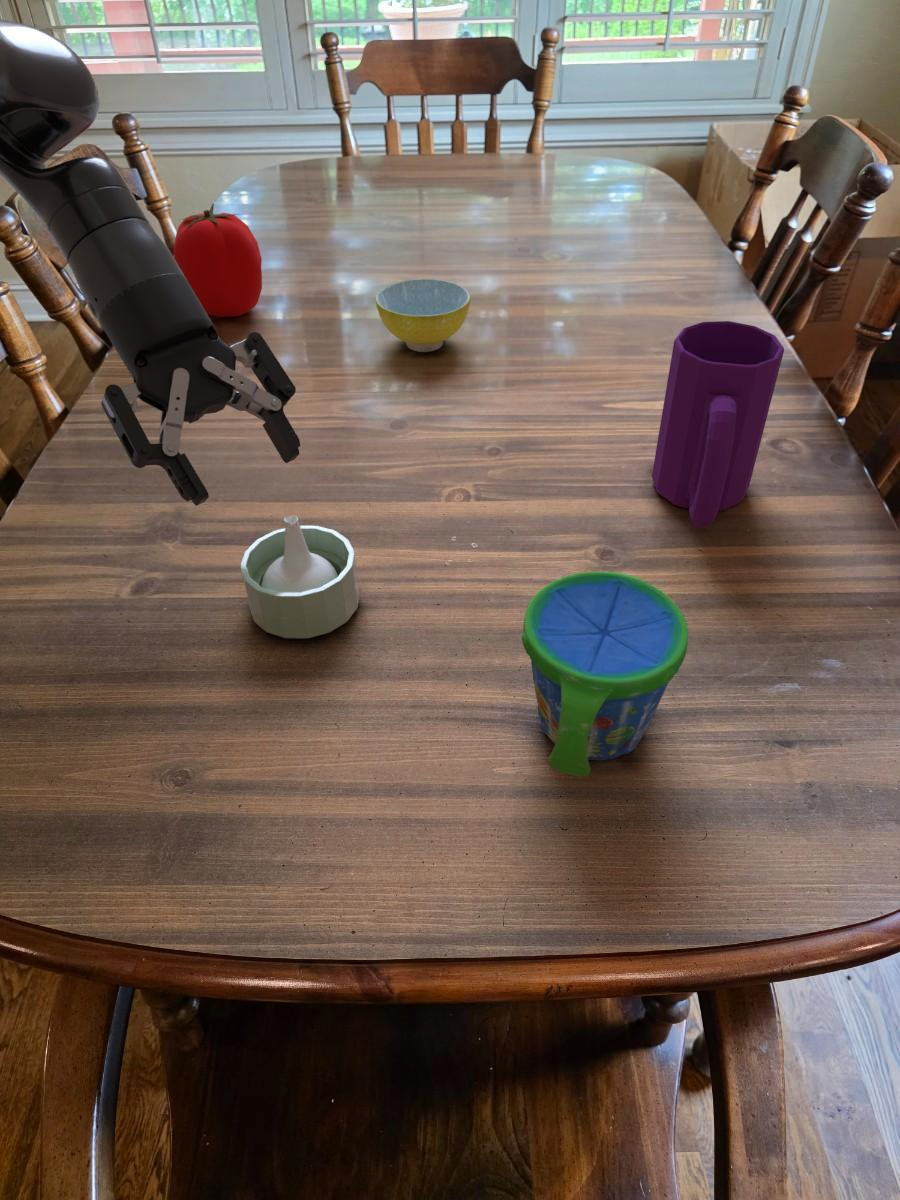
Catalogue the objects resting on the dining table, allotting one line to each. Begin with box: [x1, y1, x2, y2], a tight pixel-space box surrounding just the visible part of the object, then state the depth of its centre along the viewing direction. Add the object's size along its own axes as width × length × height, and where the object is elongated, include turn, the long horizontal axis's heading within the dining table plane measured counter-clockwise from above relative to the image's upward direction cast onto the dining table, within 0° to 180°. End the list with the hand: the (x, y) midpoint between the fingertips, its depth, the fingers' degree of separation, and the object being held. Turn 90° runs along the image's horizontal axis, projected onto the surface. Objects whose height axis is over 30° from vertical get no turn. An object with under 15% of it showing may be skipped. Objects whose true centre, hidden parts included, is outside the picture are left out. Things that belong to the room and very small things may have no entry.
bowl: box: [375, 278, 471, 353], centre depth 107 cm, size 11×12×6 cm
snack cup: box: [521, 571, 689, 777], centre depth 59 cm, size 16×10×10 cm
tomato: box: [173, 203, 263, 318], centre depth 113 cm, size 12×12×13 cm
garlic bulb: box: [262, 515, 338, 592], centre depth 70 cm, size 6×6×8 cm
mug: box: [651, 320, 785, 529], centre depth 77 cm, size 9×16×15 cm, turn 167°
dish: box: [239, 524, 361, 639], centre depth 71 cm, size 9×9×5 cm
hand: (249, 479), depth 69 cm, fingers open, 8 cm apart
